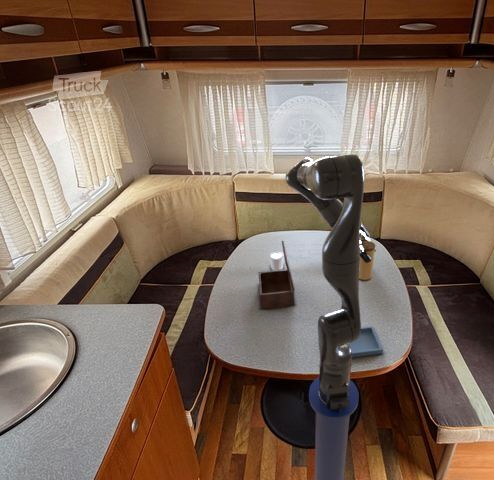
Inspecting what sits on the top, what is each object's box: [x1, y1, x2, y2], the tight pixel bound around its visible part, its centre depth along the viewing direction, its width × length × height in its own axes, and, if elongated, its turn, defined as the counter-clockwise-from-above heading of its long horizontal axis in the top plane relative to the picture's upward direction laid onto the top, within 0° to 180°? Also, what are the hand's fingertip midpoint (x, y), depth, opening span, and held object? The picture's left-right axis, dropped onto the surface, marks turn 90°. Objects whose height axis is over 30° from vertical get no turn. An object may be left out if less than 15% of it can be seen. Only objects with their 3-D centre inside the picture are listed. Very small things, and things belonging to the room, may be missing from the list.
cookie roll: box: [359, 240, 376, 283], centre depth 114 cm, size 5×5×12 cm
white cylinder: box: [268, 251, 285, 271], centre depth 170 cm, size 7×7×7 cm
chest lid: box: [281, 240, 296, 292], centre depth 147 cm, size 15×16×1 cm
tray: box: [348, 325, 384, 358], centre depth 130 cm, size 12×16×2 cm
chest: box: [258, 268, 295, 310], centre depth 153 cm, size 14×16×7 cm
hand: (371, 256), depth 112 cm, fingers closed on cookie roll, 5 cm apart
